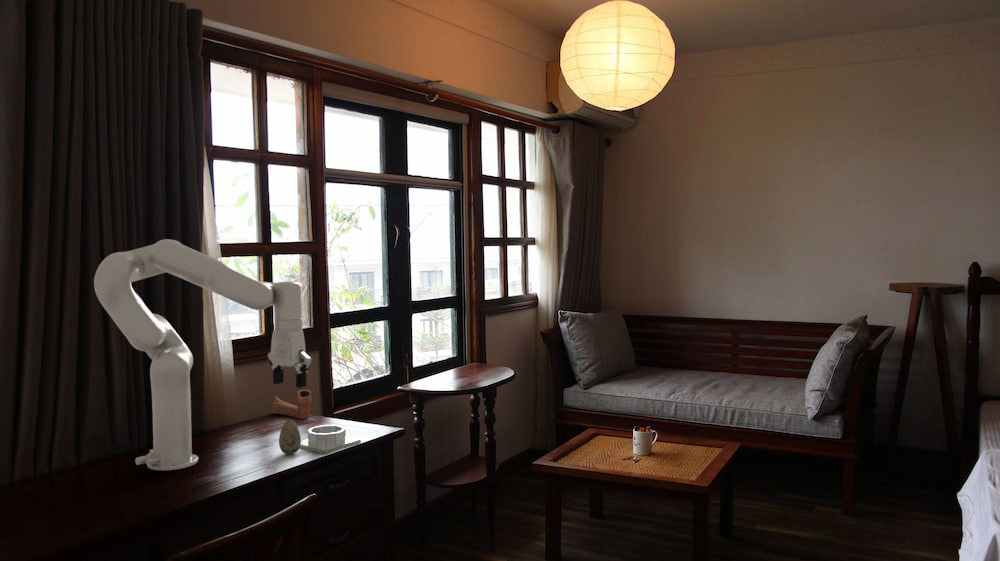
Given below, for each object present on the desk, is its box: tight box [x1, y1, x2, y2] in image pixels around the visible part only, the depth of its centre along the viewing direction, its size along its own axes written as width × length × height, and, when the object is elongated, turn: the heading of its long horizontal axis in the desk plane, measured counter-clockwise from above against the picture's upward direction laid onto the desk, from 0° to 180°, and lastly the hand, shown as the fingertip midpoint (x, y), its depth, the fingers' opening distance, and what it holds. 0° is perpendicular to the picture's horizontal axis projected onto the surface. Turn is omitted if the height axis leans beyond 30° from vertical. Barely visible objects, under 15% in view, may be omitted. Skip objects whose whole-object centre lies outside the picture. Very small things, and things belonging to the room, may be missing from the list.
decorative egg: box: [278, 419, 302, 456], centre depth 204 cm, size 6×6×10 cm
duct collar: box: [299, 424, 362, 454], centre depth 214 cm, size 14×14×4 cm
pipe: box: [272, 389, 313, 420], centre depth 249 cm, size 5×18×10 cm, turn 56°
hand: (289, 385), depth 203 cm, fingers open, 9 cm apart
